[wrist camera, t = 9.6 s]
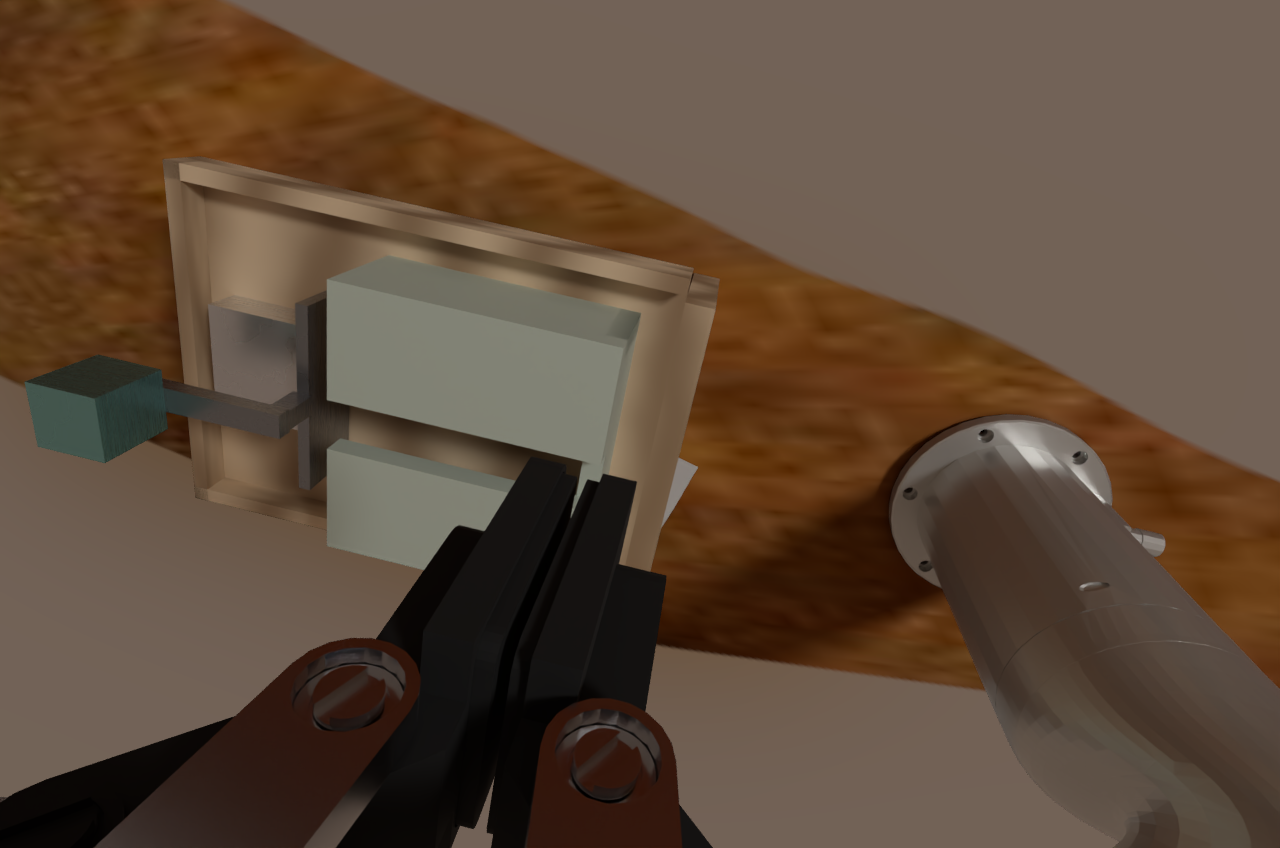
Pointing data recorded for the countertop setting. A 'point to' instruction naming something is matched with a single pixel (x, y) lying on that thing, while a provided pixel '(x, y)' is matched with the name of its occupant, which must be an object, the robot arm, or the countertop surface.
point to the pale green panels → (461, 394)
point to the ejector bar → (187, 403)
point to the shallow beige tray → (377, 227)
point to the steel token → (253, 349)
